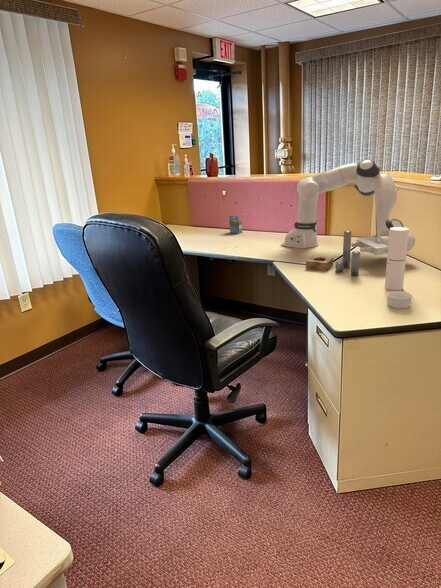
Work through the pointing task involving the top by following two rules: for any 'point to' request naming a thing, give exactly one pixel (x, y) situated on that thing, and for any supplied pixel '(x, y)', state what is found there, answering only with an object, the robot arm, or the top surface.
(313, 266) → the walnut collar block
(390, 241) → the cylindrical container
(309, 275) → the top surface
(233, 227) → the label tape cartridge
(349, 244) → the tall steel pin
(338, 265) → the short steel pin
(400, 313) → the top surface
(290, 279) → the top surface
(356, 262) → the medium steel pin
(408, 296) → the ramekin
